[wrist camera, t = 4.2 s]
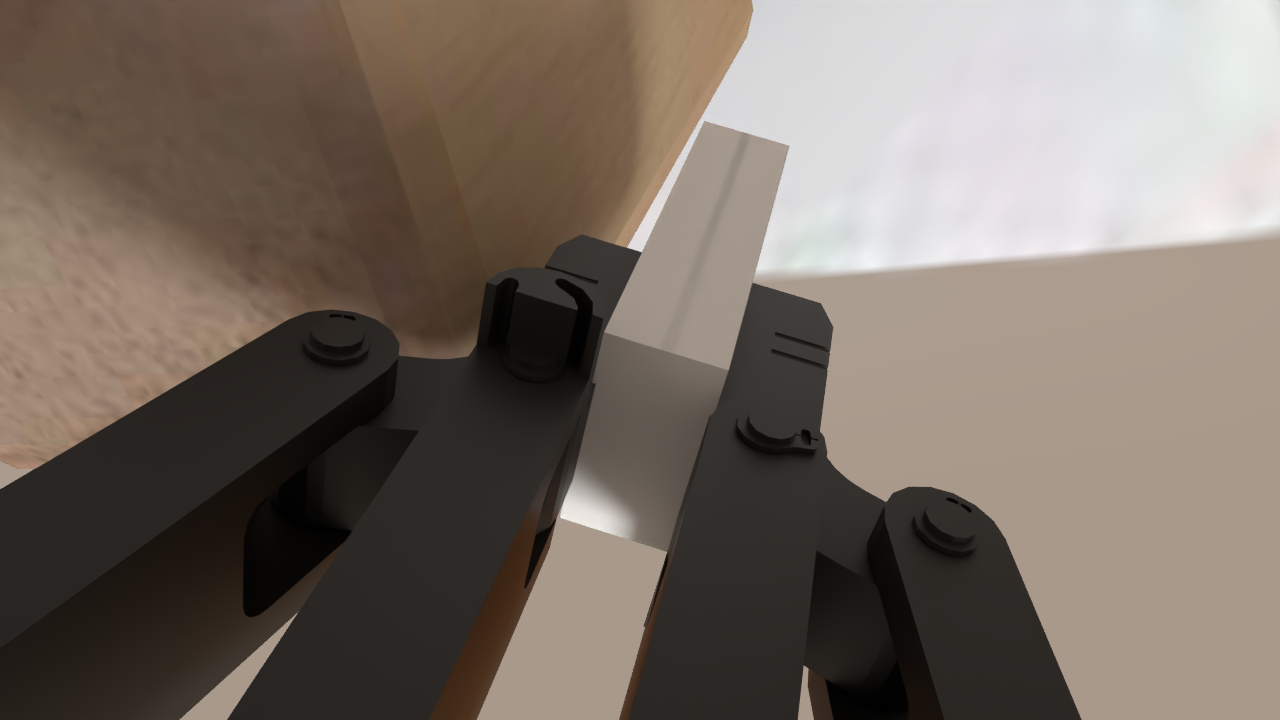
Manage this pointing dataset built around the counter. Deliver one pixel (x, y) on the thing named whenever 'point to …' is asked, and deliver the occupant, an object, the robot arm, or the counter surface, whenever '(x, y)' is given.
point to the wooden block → (309, 173)
